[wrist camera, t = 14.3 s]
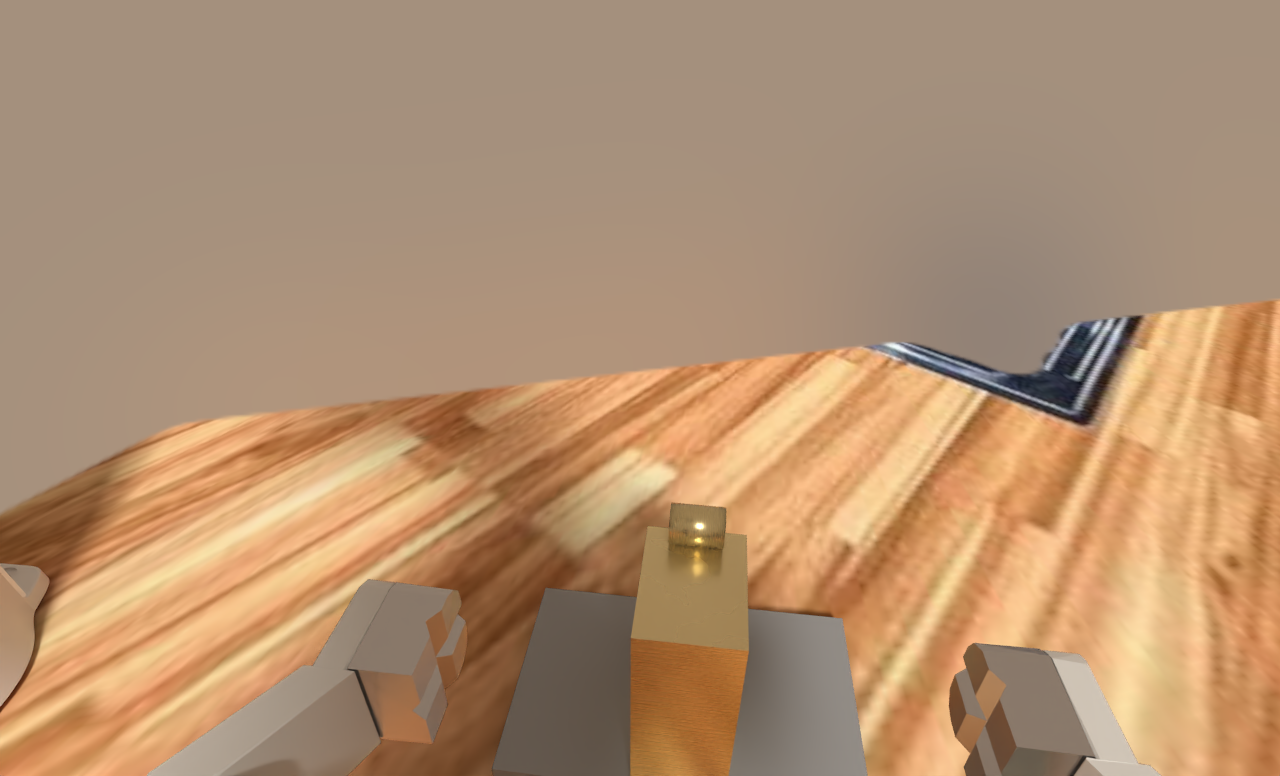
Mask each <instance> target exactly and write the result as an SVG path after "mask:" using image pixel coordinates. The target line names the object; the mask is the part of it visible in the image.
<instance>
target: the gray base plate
mask: <svg viewBox="0 0 1280 776" xmlns="http://www.w3.org/2000/svg"><path fill="white" fill-rule="evenodd" d="M636 600H637V597H630V596H620V595H611V594H601V593H591V592H582V591H572V590H562V589H553V588H545V592H544V595H543V598H542V602H541V605H540V609H539V612H538V615H537V619H536V622H535V625H534V629H533V632H532V635H531V639H530V642H529V646H528V649H527V652H526V656H525V659H524V662H523V666H522V669H521V672H520V676H519V679H518V683H517V686H516V689H515V693H514V696H513V699H512V703H511V706H510V709H509V713H508V716H507V719H506V723H505V726H504V730H503V733H502V736H501V740H500V743H499V746H498V750H497V753H496V756H495V760H494V763H493V767H492V772H493V776H630V715H631V633H632V626H633V620H634V613H635V606H636ZM748 632H749V653H748V660H747V666H746V672H745V678H744V684H743V690H742V697H741V703H740V709H739V715H738V721H737V727H736V734H735V740H734V746H733V752H732V758H731V764H730V771H729V776H867V769H866V763H865V757H864V751H863V745H862V738H861V732H860V726H859V720H858V713H857V707H856V701H855V695H854V689H853V682H852V676H851V670H850V664H849V657H848V651H847V645H846V639H845V633H844V626H843V620H842V618H832V617H823V616H813V615H803V614H794V613H784V612H775V611H765V610H755V609H748Z"/></svg>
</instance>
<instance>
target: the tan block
mask: <svg viewBox="0 0 1280 776" xmlns="http://www.w3.org/2000/svg"><path fill="white" fill-rule="evenodd" d="M725 529H726V507H715V506H704V505H693V504H681V503H671V511H670V522H669V528H665V527H654V526H648V527H647V533H646V540H645V547H644V553H643V560H642V567H641V573H640V580H639V587H638V593H637V600H636V606H635V613H634V620H633V626H632V633H631V715H630V776H729V771H730V764H731V758H732V752H733V746H734V740H735V734H736V727H737V721H738V715H739V709H740V703H741V697H742V690H743V684H744V678H745V672H746V666H747V660H748V653H749V632H748V585H747V538H746V535H740V534H730V533H725Z"/></svg>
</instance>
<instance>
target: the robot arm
mask: <svg viewBox="0 0 1280 776" xmlns="http://www.w3.org/2000/svg"><path fill="white" fill-rule="evenodd" d="M48 586H49V578H48V576H47V575H46V574H45V573H44V572H43V571H42V570H41V569H40V568H38V567H35V566H28V565H16V564H4V563H0V706H1V705H2V704H3V703H4V701H5V700H6V699H7V698H8V696H9V695H10V694H11V692H12V691H13V689H14V688H15V686H16V685H17V683H18V682H19V680H20V679H21V677H22V675H23V673H24V671H25V669H26V667H27V665H28V663H29V660H30V658H31V655H32V651H33V647H34V641H35V632H34V613H35V610H36V609H37V607H38V605H39V603H40V602H41V600H42V598H43V596H44V595H45V593H46V590H47V588H48ZM461 604H462V602H461V599H460V595H459V591H458V590H451V589H443V588H435V587H427V586H420V585H412V584H404V583H397V582H388V581H379V580H370V579H368V580H367V581H366V582H365V583H364V584H363V585H361V586H360V587H359V589H358V590H357V592H356V594H355V595H354V597H353V599H352V600H351V602H350V604H349V605H348V607H347V609H346V610H345V612H344V614H343V615H342V617H341V619H340V620H339V622H338V624H337V625H336V627H335V629H334V630H333V632H332V634H331V635H330V637H329V639H328V641H327V642H326V644H325V646H324V647H323V649H322V651H321V652H320V654H319V656H318V657H317V659H316V661H315V662H314V664H313V666H310V665H303V666H302V667H300V668H299V669H297V670H296V671H294V672H293V673H292V674H290V675H289V676H287V677H286V678H284V679H283V680H281V681H280V682H279V683H277V684H276V685H274V686H273V687H271V688H270V689H269V690H267V691H266V692H264V693H263V694H261V695H260V696H258V697H257V698H256V699H254V700H253V701H251V702H250V703H248V704H247V705H246V706H244V707H243V708H241V709H240V710H238V711H237V712H236V713H234V714H233V715H231V716H230V717H228V718H227V719H225V720H224V721H223V722H221V723H220V724H218V725H217V726H215V727H214V728H213V729H211V730H210V731H208V732H207V733H205V734H204V735H203V736H201V737H200V738H198V739H197V740H195V741H194V742H192V743H191V744H190V745H188V746H187V747H185V748H184V749H182V750H181V751H180V752H178V753H177V754H175V755H174V756H172V757H171V758H169V759H168V760H167V761H165V762H164V763H162V764H161V765H159V766H158V767H157V768H155V769H154V770H152V771H151V772H149V773H148V775H147V776H347V775H348V774H349V773H350V772H352V771H353V770H354V769H355V768H356V767H357V766H358V765H359V764H360V763H361V762H362V761H363V760H364V759H365V758H366V757H367V756H368V755H369V754H370V753H371V752H372V751H373V750H374V749H375V748H376V747H377V746H378V745H379V744H380V743H381V740H380V739H385V740H396V741H406V742H416V743H426V744H433V742H434V739H435V736H436V734H437V731H438V729H439V726H440V724H441V721H442V718H443V716H444V713H445V711H446V708H447V705H448V703H447V699H446V695H445V689H446V688H447V687H448V686H450V685H451V684H452V683H453V682H454V681H456V680H457V679H458V677H459V674H460V671H461V668H462V666H463V663H464V658H465V653H466V648H467V626H466V621H465V620H464V619H463V618H461V617H460V616H459V615H458V612H459V609H460V607H461ZM963 658H964V661H965V665H966V669H965V670H963V671H961V672H959V673H957V674H955V676H954V679H953V682H952V684H951V687H950V696H949V710H950V717H951V722H952V726H953V730H954V734H955V737H956V738H957V739H958V741H959V742H960V743H961V744H962V745H963V746H964V747H965V748H966V749H967V750H968V751H969V752H970V755H969V757H968V759H967V761H966V764H965V766H964V769H965V773H966V776H1161V775H1160V774H1159V773H1158V772H1157V771H1156V770H1155V769H1153V768H1152V767H1151V766H1150V765H1145V764H1139V763H1138V762H1137V760H1136V758H1135V756H1134V754H1133V752H1132V750H1131V748H1130V746H1129V744H1128V742H1127V740H1126V738H1125V736H1124V734H1123V732H1122V730H1121V728H1120V726H1119V724H1118V722H1117V720H1116V718H1115V716H1114V714H1113V712H1112V710H1111V708H1110V706H1109V704H1108V702H1107V700H1106V698H1105V696H1104V695H1103V693H1102V691H1101V689H1100V687H1099V685H1098V683H1097V681H1096V679H1095V677H1094V675H1093V673H1092V671H1091V669H1090V667H1089V665H1088V663H1087V661H1086V660H1085V659H1084V658H1083V657H1082V656H1081V655H1080V654H1075V653H1067V652H1056V651H1045V650H1040V649H1035V648H1024V647H1012V646H1001V645H990V644H979V643H973V644H972V645H970V646H969V647H968V648H967V650H966V652H965V654H964V656H963Z"/></svg>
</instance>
